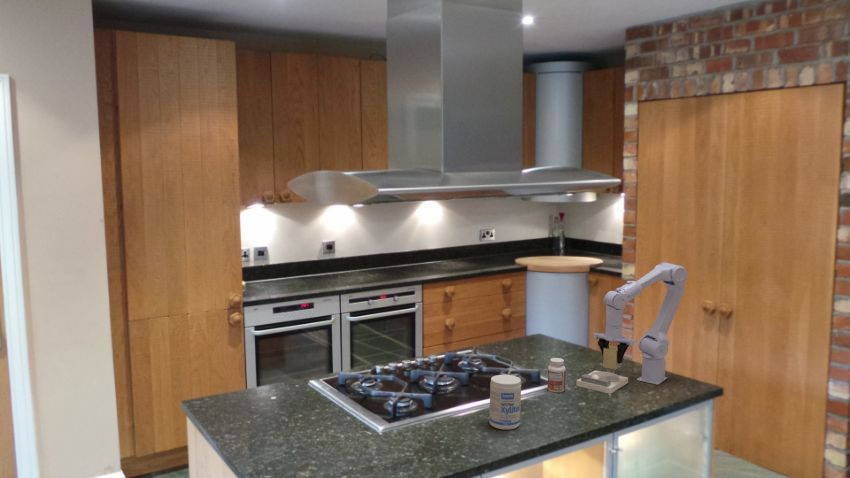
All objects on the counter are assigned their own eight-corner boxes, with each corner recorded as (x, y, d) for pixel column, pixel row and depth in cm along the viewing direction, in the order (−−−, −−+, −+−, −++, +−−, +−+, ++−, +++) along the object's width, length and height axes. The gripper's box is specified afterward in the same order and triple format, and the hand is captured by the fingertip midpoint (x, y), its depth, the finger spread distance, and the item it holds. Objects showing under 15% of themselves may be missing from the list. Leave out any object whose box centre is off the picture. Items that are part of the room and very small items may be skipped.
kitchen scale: (595, 375, 265) (595, 362, 265) (627, 382, 257) (628, 369, 256) (576, 385, 254) (576, 371, 253) (610, 393, 246) (610, 379, 245)
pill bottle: (555, 385, 254) (556, 356, 252) (568, 390, 249) (569, 360, 248) (543, 389, 250) (544, 359, 248) (557, 394, 245) (558, 363, 244)
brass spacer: (608, 363, 257) (609, 345, 256) (621, 366, 254) (622, 347, 253) (602, 366, 253) (603, 348, 252) (616, 369, 250) (616, 350, 249)
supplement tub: (503, 433, 212) (504, 386, 210) (482, 423, 219) (483, 378, 217) (526, 425, 218) (527, 380, 216) (505, 416, 225) (506, 372, 223)
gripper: (590, 323, 253) (589, 360, 255) (629, 330, 244) (627, 368, 246) (599, 319, 258) (597, 355, 260) (637, 326, 249) (635, 363, 251)
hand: (612, 361), depth 253 cm, fingers closed on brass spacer, 5 cm apart
